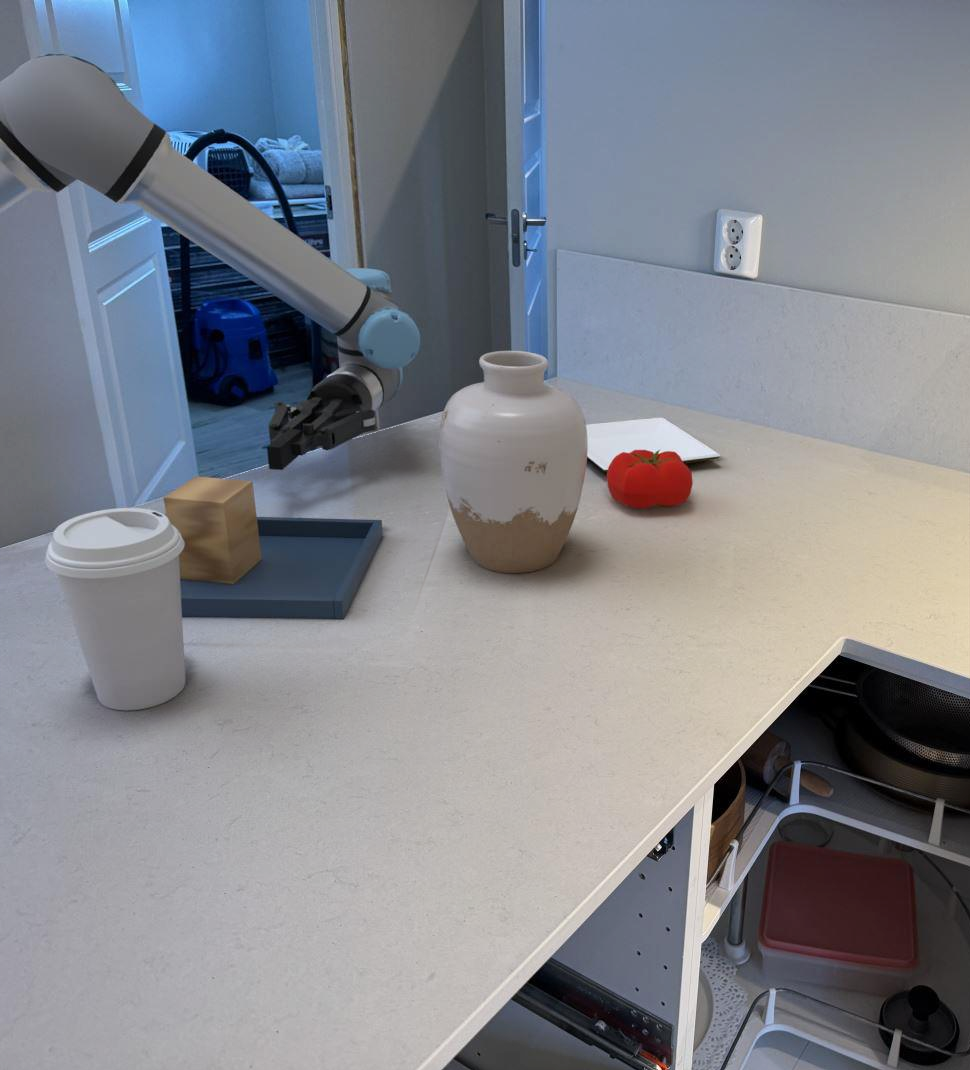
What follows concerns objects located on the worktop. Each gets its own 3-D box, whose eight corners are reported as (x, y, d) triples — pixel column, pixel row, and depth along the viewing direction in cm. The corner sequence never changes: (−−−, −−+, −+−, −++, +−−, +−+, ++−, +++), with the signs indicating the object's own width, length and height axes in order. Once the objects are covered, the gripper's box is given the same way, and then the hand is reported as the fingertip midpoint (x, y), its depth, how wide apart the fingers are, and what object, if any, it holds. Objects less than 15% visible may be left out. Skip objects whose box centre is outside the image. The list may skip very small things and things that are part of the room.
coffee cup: (215, 702, 83) (190, 539, 77) (81, 734, 78) (43, 562, 72) (195, 649, 90) (171, 496, 84) (71, 675, 85) (36, 515, 79)
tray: (83, 619, 93) (78, 596, 92) (165, 534, 111) (162, 513, 110) (343, 623, 96) (341, 600, 95) (383, 539, 114) (381, 519, 113)
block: (176, 579, 101) (162, 497, 97) (207, 554, 106) (195, 475, 102) (234, 584, 101) (223, 502, 97) (262, 559, 106) (252, 481, 102)
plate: (603, 482, 136) (604, 468, 135) (553, 440, 150) (553, 427, 149) (720, 467, 145) (722, 454, 144) (662, 429, 159) (663, 416, 158)
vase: (516, 516, 123) (515, 333, 114) (613, 554, 115) (620, 362, 106) (413, 555, 111) (402, 354, 102) (513, 601, 103) (511, 388, 94)
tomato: (699, 514, 128) (703, 466, 125) (617, 519, 124) (619, 471, 122) (676, 486, 136) (679, 441, 134) (598, 491, 133) (600, 445, 130)
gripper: (395, 430, 135) (335, 493, 114) (298, 422, 135) (220, 484, 113) (392, 376, 132) (330, 431, 111) (294, 369, 132) (212, 422, 110)
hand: (274, 458), depth 112 cm, fingers closed
